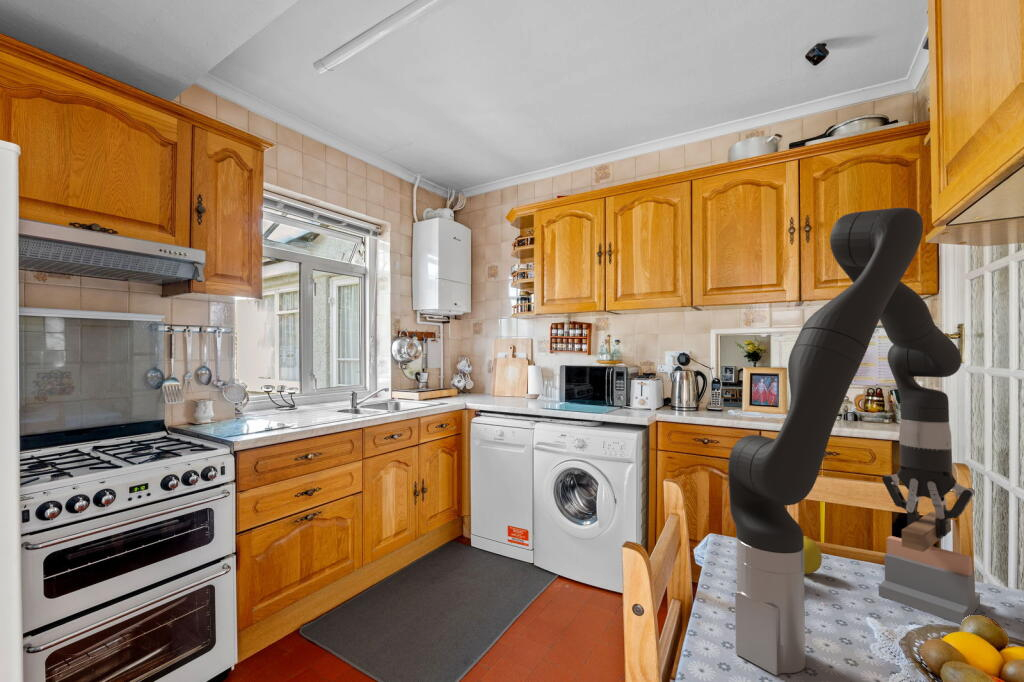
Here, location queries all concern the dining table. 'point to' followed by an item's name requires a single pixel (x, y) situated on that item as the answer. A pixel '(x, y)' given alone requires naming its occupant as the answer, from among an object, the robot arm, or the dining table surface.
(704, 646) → the dining table surface
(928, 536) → the walnut stick
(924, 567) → the fulcrum stand
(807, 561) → the lemon
